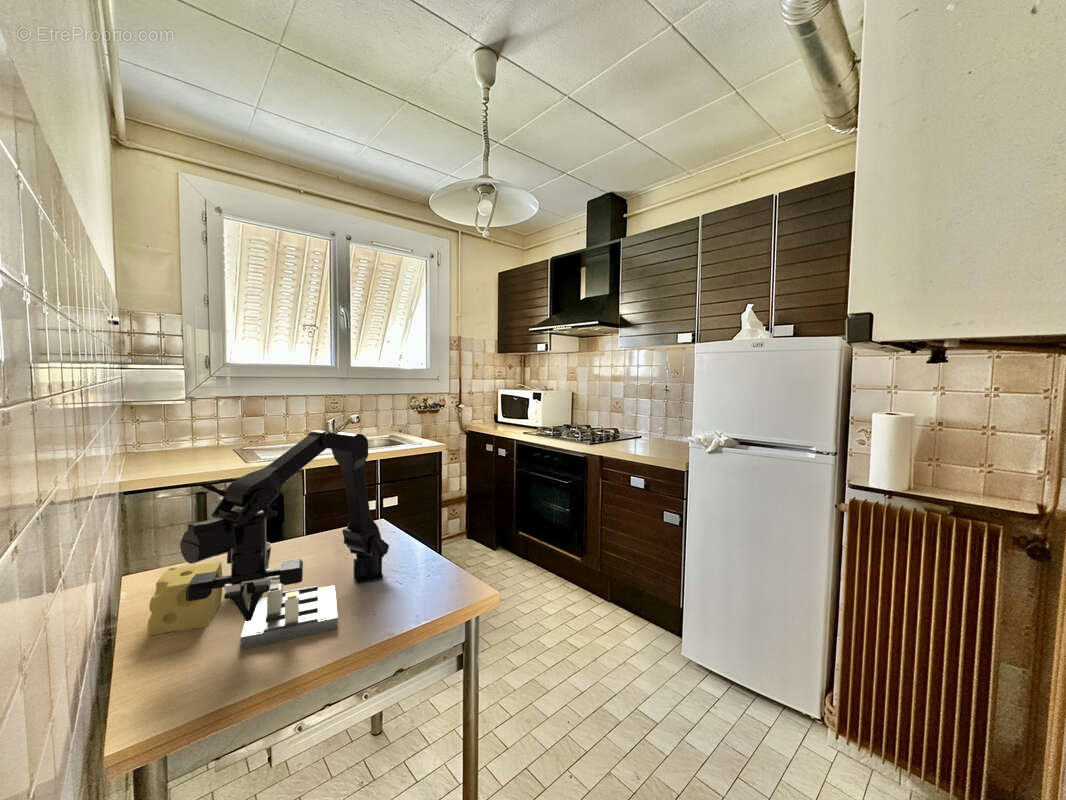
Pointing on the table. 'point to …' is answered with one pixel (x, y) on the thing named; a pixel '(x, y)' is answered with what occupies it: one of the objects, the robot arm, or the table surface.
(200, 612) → the cheese
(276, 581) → the block
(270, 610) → the block
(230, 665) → the table surface
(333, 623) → the breaker panel
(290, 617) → the block
